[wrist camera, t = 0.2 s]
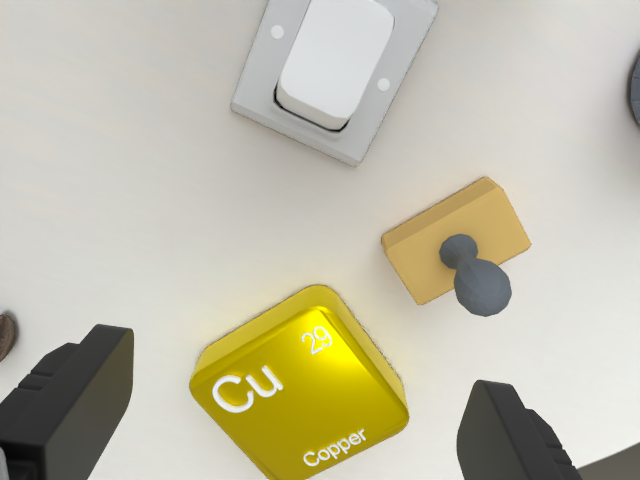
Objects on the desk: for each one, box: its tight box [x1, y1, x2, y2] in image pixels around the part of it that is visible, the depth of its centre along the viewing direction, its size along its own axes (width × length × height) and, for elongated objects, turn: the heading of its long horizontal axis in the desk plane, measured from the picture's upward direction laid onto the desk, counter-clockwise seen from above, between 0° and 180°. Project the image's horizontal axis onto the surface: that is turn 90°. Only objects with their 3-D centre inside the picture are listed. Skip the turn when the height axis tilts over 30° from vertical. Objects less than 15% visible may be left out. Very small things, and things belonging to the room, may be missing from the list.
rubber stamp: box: [381, 177, 531, 317], centre depth 35 cm, size 10×6×12 cm, turn 122°
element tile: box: [189, 285, 409, 480], centre depth 44 cm, size 15×15×5 cm
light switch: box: [230, 0, 438, 167], centre depth 35 cm, size 11×4×13 cm
